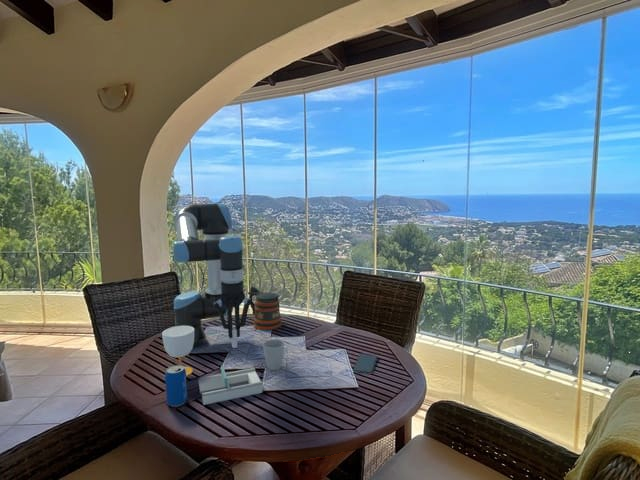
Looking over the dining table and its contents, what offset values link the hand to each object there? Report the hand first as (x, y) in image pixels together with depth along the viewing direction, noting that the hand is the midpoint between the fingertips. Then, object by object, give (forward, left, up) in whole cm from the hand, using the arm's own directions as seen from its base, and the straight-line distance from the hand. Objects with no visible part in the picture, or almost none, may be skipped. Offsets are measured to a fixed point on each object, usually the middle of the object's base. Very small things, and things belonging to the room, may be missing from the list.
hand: (234, 346), depth 134 cm
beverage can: (+1, -20, -16) cm, 26 cm away
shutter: (0, -8, -13) cm, 15 cm away
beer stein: (-60, +25, -16) cm, 67 cm away
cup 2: (-11, +17, -16) cm, 26 cm away
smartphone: (+1, +52, -17) cm, 55 cm away
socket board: (0, -2, -16) cm, 16 cm away
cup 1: (-21, -18, -16) cm, 32 cm away
